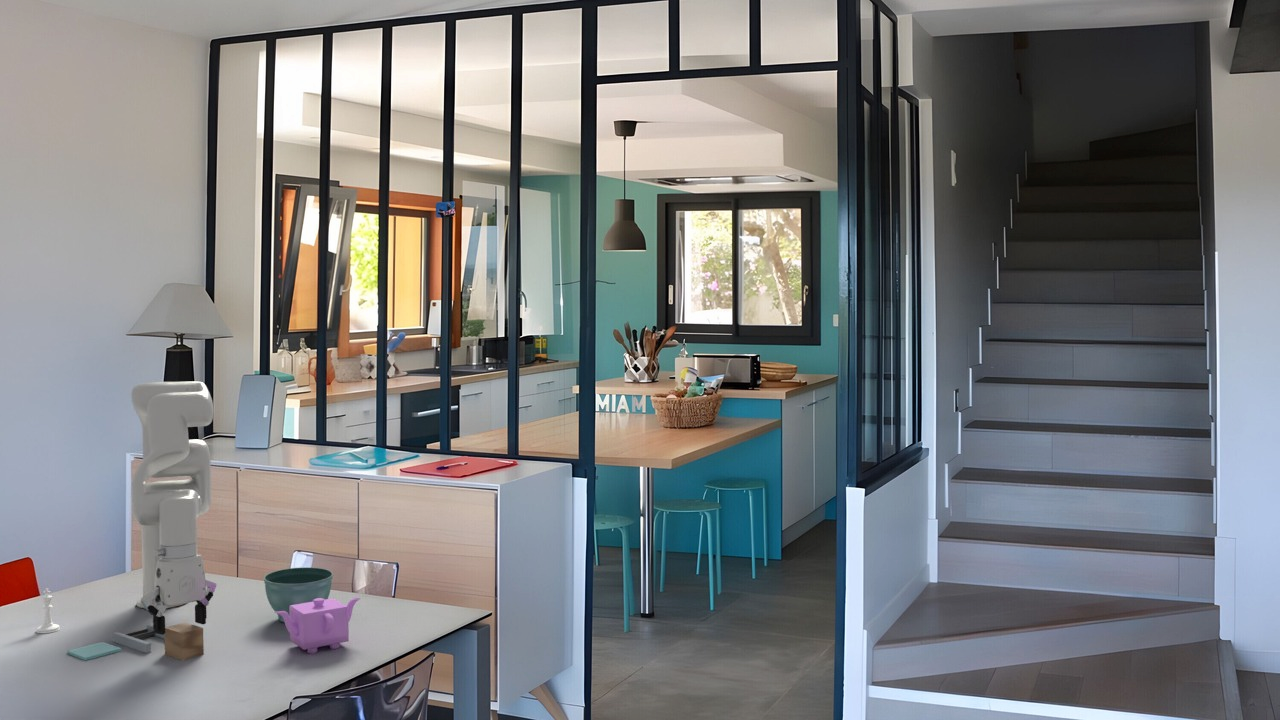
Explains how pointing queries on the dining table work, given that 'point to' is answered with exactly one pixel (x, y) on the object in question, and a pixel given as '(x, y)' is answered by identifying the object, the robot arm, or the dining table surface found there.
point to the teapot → (319, 623)
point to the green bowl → (296, 587)
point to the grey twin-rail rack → (137, 638)
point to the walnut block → (184, 641)
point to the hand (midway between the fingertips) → (180, 628)
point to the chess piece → (47, 616)
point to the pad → (93, 651)
